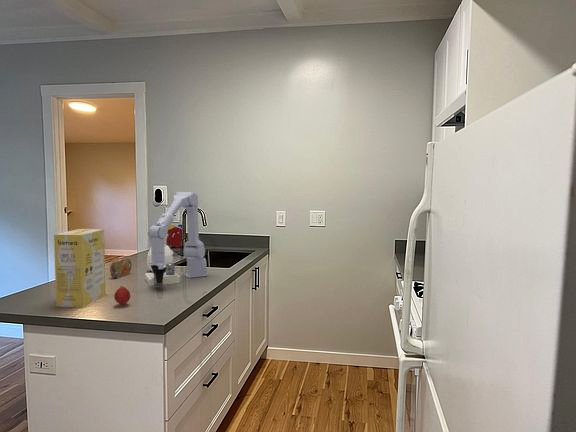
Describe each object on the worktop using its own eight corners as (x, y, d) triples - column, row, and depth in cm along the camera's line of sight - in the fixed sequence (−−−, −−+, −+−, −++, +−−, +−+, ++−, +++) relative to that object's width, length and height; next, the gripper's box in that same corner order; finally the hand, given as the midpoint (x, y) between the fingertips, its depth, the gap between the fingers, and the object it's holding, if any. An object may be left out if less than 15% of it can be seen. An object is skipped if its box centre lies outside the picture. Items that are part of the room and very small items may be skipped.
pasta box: (81, 293, 178) (79, 228, 176) (105, 294, 178) (104, 229, 175) (56, 306, 160) (53, 234, 157) (83, 307, 160) (81, 235, 157)
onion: (117, 303, 165) (116, 283, 165) (132, 303, 166) (131, 283, 165) (112, 307, 160) (112, 287, 159) (127, 307, 160) (127, 287, 159)
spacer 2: (173, 272, 204) (173, 262, 203) (175, 274, 200) (175, 264, 199) (165, 273, 202) (165, 263, 201) (166, 275, 198) (166, 265, 198)
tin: (114, 279, 203) (114, 262, 202) (109, 279, 204) (108, 262, 203) (132, 273, 218) (131, 257, 217) (126, 272, 218) (126, 256, 218)
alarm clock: (183, 245, 306) (183, 218, 304) (189, 247, 299) (188, 219, 298) (164, 247, 296) (164, 219, 295) (169, 249, 290) (169, 220, 288)
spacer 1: (162, 283, 191) (162, 272, 190) (163, 285, 187) (163, 274, 187) (153, 284, 189) (153, 273, 188) (154, 286, 185) (154, 275, 185)
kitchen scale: (173, 276, 211) (173, 264, 211) (180, 283, 198) (179, 269, 198) (144, 279, 205) (144, 266, 204) (149, 286, 192) (149, 272, 191)
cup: (176, 268, 229) (176, 244, 228) (167, 274, 216) (167, 248, 215) (153, 267, 230) (153, 243, 229) (142, 273, 217) (142, 247, 216)
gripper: (146, 250, 191) (146, 278, 192) (151, 255, 178) (151, 286, 180) (162, 249, 194) (162, 277, 196) (168, 254, 182) (168, 284, 183)
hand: (158, 281), depth 188 cm, fingers closed on spacer 1, 4 cm apart
